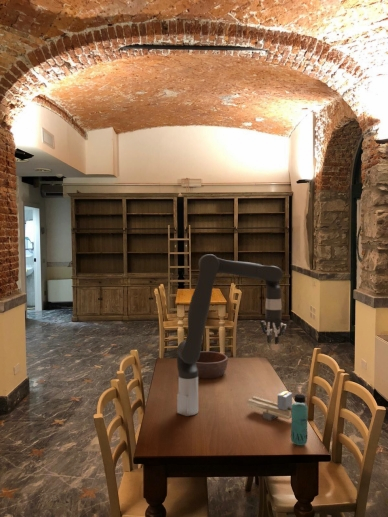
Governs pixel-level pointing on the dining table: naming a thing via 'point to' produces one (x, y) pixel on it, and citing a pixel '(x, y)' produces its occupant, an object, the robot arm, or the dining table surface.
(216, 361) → the wooden bowl
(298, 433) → the beverage bottle
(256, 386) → the dining table surface
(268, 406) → the beam
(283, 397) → the block
